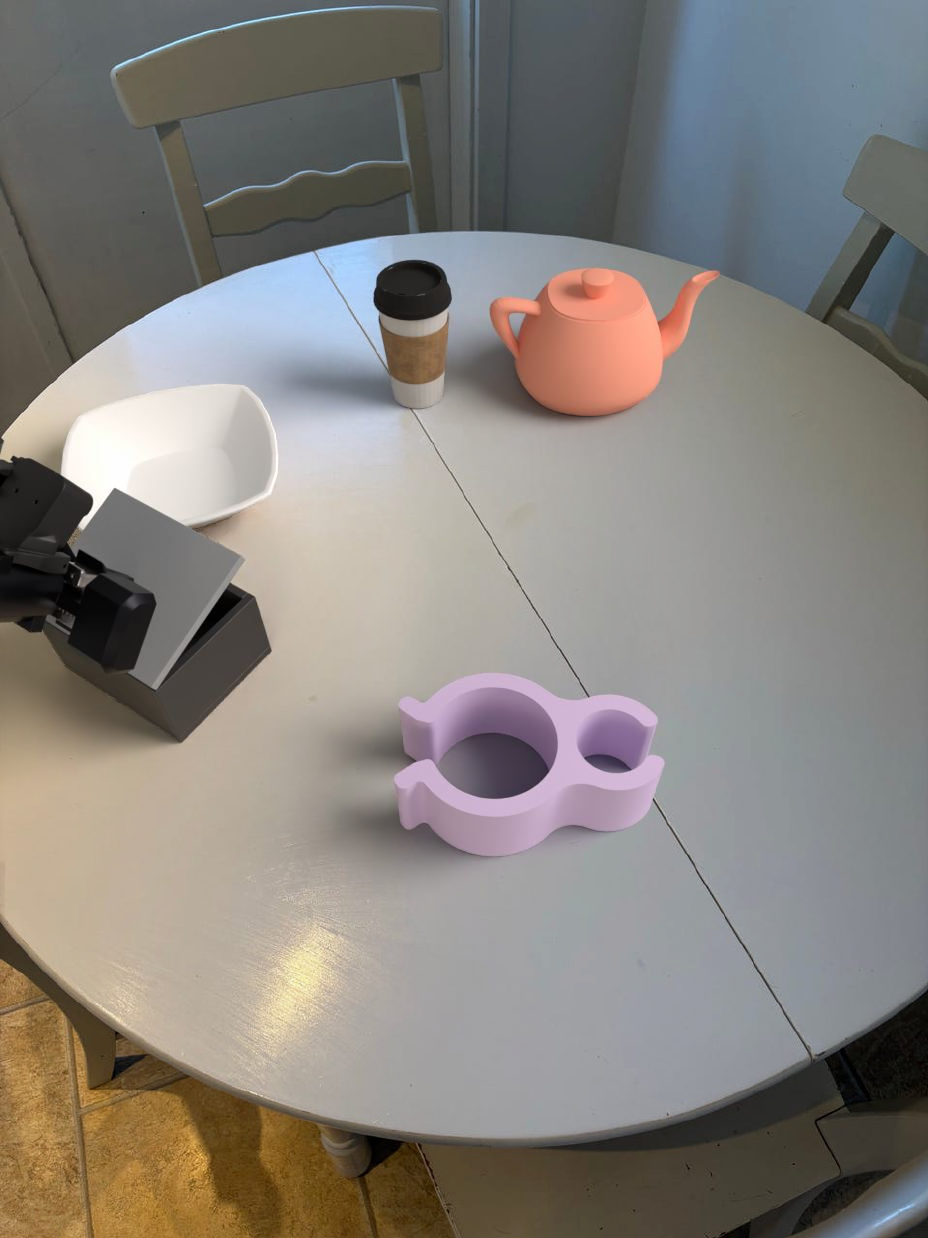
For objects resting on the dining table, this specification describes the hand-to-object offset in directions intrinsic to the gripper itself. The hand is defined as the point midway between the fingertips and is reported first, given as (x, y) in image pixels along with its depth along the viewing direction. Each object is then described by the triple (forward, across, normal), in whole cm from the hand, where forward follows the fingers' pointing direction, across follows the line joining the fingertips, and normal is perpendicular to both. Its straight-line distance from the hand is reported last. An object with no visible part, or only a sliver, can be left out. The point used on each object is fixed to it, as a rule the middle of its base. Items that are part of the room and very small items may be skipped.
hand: (129, 582), depth 72 cm
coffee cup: (+39, +3, -23) cm, 46 cm away
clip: (+13, -34, +3) cm, 36 cm away
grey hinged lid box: (+8, 0, +8) cm, 11 cm away
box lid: (+1, 0, 0) cm, 1 cm away
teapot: (+49, -13, -33) cm, 60 cm away
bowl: (+20, +15, -4) cm, 25 cm away
